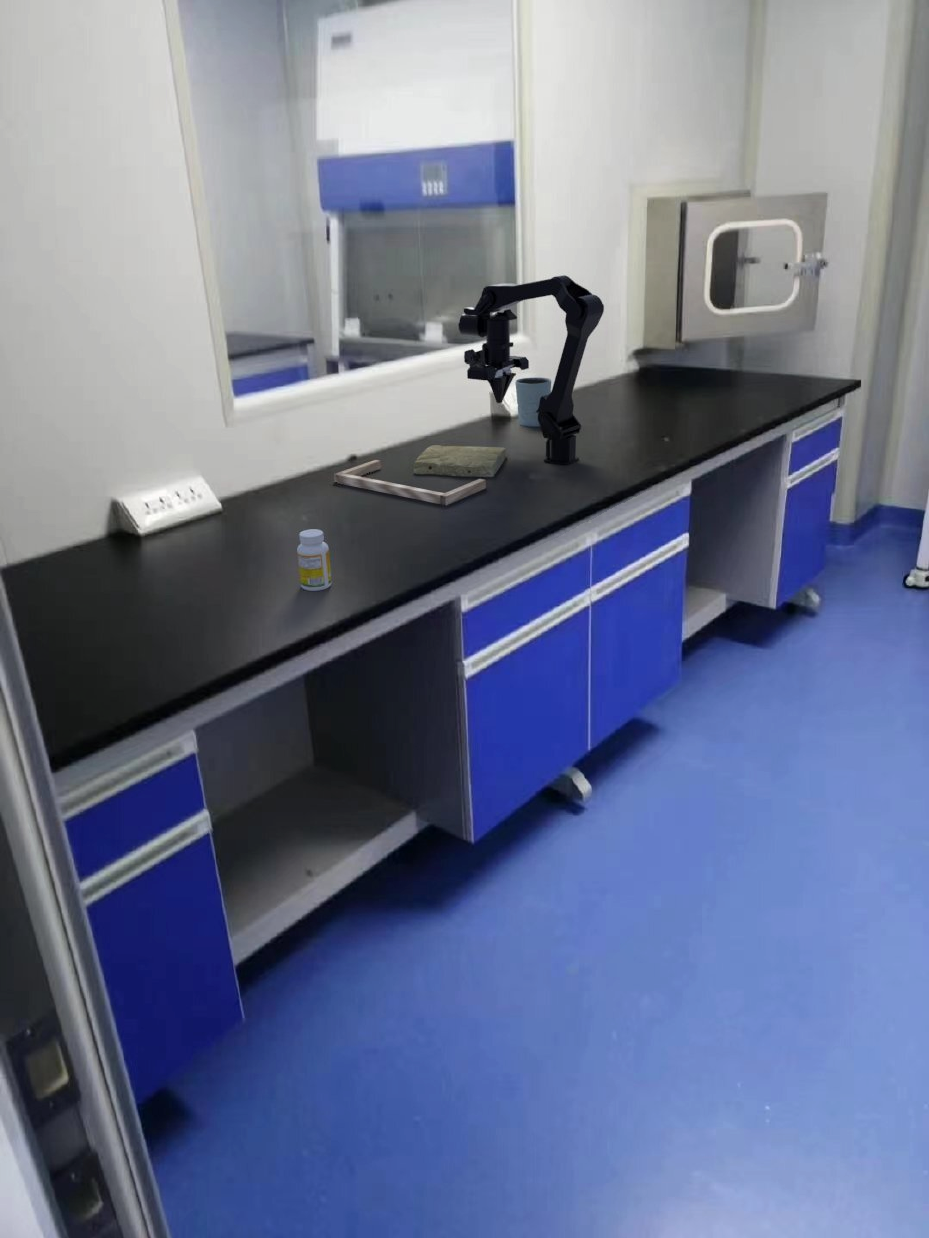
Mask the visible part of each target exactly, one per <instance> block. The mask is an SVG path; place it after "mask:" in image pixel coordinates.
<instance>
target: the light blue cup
mask: <svg viewBox="0 0 929 1238" xmlns="http://www.w3.org/2000/svg"><path fill="white" fill-rule="evenodd" d="M515 390H516V391H515V392H516V393H515V394H516V404H517V413H518V415H517V416H518V424H519V425H520V426H522V427H529V428H530V427H533V428H536V427H537V428H538V427H541V426H540V424H539V422H538V420H537V416H538V413H536V411H537V410H538V408H539V403H540V398H541V397H542V396H545V395H548V394H550V393H551V391H552V379H551V378H548V377H523V378H519V379H518V378H517V379H515Z"/></svg>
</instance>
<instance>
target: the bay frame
mask: <svg viewBox="0 0 929 1238" xmlns="http://www.w3.org/2000/svg"><path fill="white" fill-rule="evenodd" d="M381 464H382V463H381V460H378V459H375V460H371V461H368V462H366V463H362V464H359V465H356V466H354V467H351V468H348V469H344V470H342V471H339V472H336V473H334V474H333V477H334V478H333V479H334V483H335V482H337V483H336V484H340V485H345V486H351V487H355V488H360V489H364V490H365V489H366V490H370V491H374V492H379V493H384V494H389V495H394V496H399V497H404V498H409V499H412V500H413V499H414V500H418V501H424V502H427V503H433V504H438V505H442V506H448V505H450V504H454V503H455V502H458V501H460V500H462V499H464V498H467V497H470V496H472V495H475V494H476V493H478V492H481V491H483V490H485V489H487V488H486V485H487V484H486V483H487V482H486V479H482V478H478V479H476V480H473V481H471V482H468V483H466V484H464V485H461V486H459V487H456V488H455V489H452V490H449V491H446V492H439V491H434V490H429V489H425V488H419V487H414V486H411V485H410V486H409V485H405V484H399V483H395V482H390V481H385V480H384V481H383V480H380V479H373V478H368V477H365V476H364V475H367V473H368V474H370V473H373V472H376V471H379V470H381V469H382V466H381ZM369 472H370V473H369Z"/></svg>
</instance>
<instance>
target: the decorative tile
mask: <svg viewBox="0 0 929 1238" xmlns="http://www.w3.org/2000/svg"><path fill="white" fill-rule="evenodd" d="M506 450H507V449H506V448H505V447H493V446H461V445H460V446H459V445H447V446H443V445H439V444H437V445H436V444H435V445H430V446H428V447H427V448H425V449H424V451H423V452H422V453H421V454H420V455H419V456H418V457H417V458H416V461H414V466H413V474H414V473H415V475H440V476H451V477H470V478H471V477H479V478H480V477H481V478H482V477H483V478H484V477H485V478H493V477H494V476H495V474H497V472H498V470H499V469H500V467H501V466H502V464H504V461H505V460H506V458H507V455H506V454H507V453H506V452H507V451H506Z"/></svg>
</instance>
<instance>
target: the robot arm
mask: <svg viewBox="0 0 929 1238" xmlns="http://www.w3.org/2000/svg"><path fill="white" fill-rule="evenodd" d="M550 296H553V298H555V301H556V302H557V303H556V304H558V306H559V308H560V309H561V310H562V311H563V312H564V313H565V319H564V323H565V328H566V333H567V334H566V337H565V340H564V341H565V342H564V345H563V349H562V352H561V356H560V358H559V359H560V360H559V363H558V366H557V370H556V374H555V378H554V382H553V386H552V387H551V393H550V394H548V395H545V396H542V397H541V398H540V403H539V408H538V410H537V411H536V413H538V416H537V420H538V422H539V424H540V426H539V427H540V429H541V432H542V436H543V438H544V439H547V440H545V458H544V459H543V462H545V463H550V464H558V465H563V466H567V465H569V464H571V463H573V462H575V461H577V460H579V459H580V457H579V456H577V455H576V454H577V452H576V451H577V442H576V441H577V434H579V433H580V431H581V429H582V424H581V423H580V421H579V420H578V419H577V418H576V416H575V415H574V407H575V405H574V400H573V396H572V395H573V391H574V388H575V385H576V380H577V377H578V374H579V370H580V367H581V363H582V360H583V356H584V354H585V350H586V346H587V344H588V340H589V338H590V336H591V335H592V333H593V332H594V331H595V329H596V328H597V326H598V325H599V322H600V320H601V318H602V317H603V314H604V313H605V312H604V311H605V305H604V304H603V301H602V299H601V298H600V297H599V296H598V295H596V294H593V293H592V292H590V290H588V289H587V288H586V287H583V286H581V284H580V285H579V284H578V283H576V282H575V281H574V280H573V279H572V278H570V277H569V276H567V275H557V276H553V277H551V278H547V279H542V280H537V281H532V282H527V283H521V284H518V283H510V282H509V283H505V282H503V283H498V284H497V283H496V284H489V285H487V286H484V287H483V288H482V292H481V296H480V298H479V300H478V301H477V303H476V305H475V307H472V306H471V307H470V306H468V307H464V308H463V313H462V314H461V316H460V318H459V322H458V330H459V333H460V334H461V335H462V336H464V337H475V338H485V337H486V342H485V343H482V345H481V349H480V350H477V351H475V350H474V349H473V348H471V349H468V350H465V351H464V355H463V361H464V363H465V364H466V365H469V367H468V369H466V371H467V372H466V375H467V379H469V380H478V381H487V382H488V384H489V386H490V388H491V391H492V393H493V397H494V399H495V402H496V404H502V402H503V401H504V399H505V396H506V394H507V392H508V390H509V387H510V386H511V384H512V382H513V379H514V377H515V376H516V375H517V373H516V372H512V369H513V368H518V369H520V371H525V370H528V369H530V361H529V359H528V358H527V357H526V356H520V355H511V348H513V347H514V341H511V338H510V335H511V333H510V332H511V331H510V330H511V329H510V322H511V321H513V320H517V318H518V316H517V315H516V314H515V313H513V311H512V310H511V308H510V307H513V306H515V305H517V304H519V303H521V302H523V301H526V300H532V299H533V300H534V299H539V298H542V297H550ZM508 308H509V309H508ZM503 309H505V310H503ZM501 310H503V311H502V312H501Z"/></svg>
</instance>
